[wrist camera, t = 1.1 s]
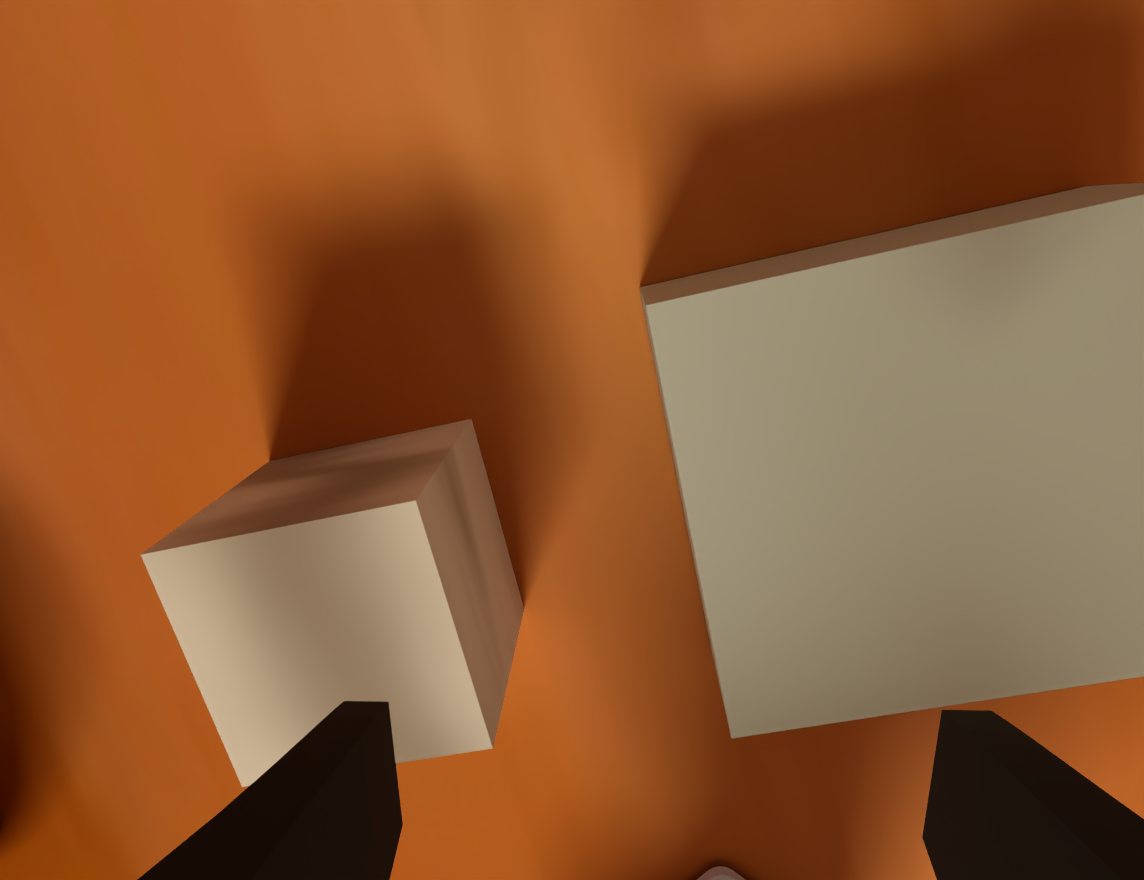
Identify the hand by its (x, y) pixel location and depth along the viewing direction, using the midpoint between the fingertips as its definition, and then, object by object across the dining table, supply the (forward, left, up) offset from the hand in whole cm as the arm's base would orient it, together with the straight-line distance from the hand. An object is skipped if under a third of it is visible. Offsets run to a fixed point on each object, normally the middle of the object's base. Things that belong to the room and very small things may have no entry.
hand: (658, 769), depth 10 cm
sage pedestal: (+5, -3, -10) cm, 11 cm away
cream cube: (-5, +4, -10) cm, 12 cm away
